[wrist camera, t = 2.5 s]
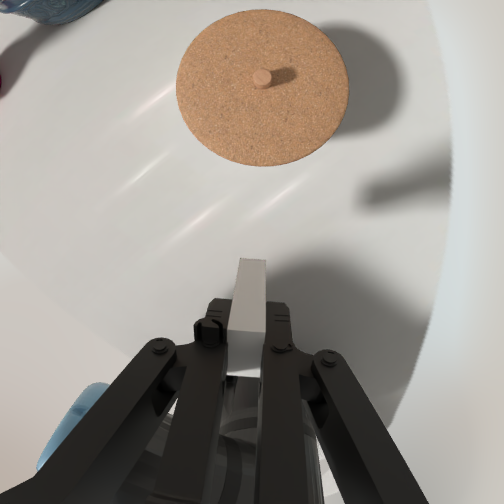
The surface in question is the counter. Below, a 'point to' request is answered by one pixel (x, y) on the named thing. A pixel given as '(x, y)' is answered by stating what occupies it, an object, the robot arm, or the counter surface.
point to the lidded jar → (262, 88)
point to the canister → (49, 9)
